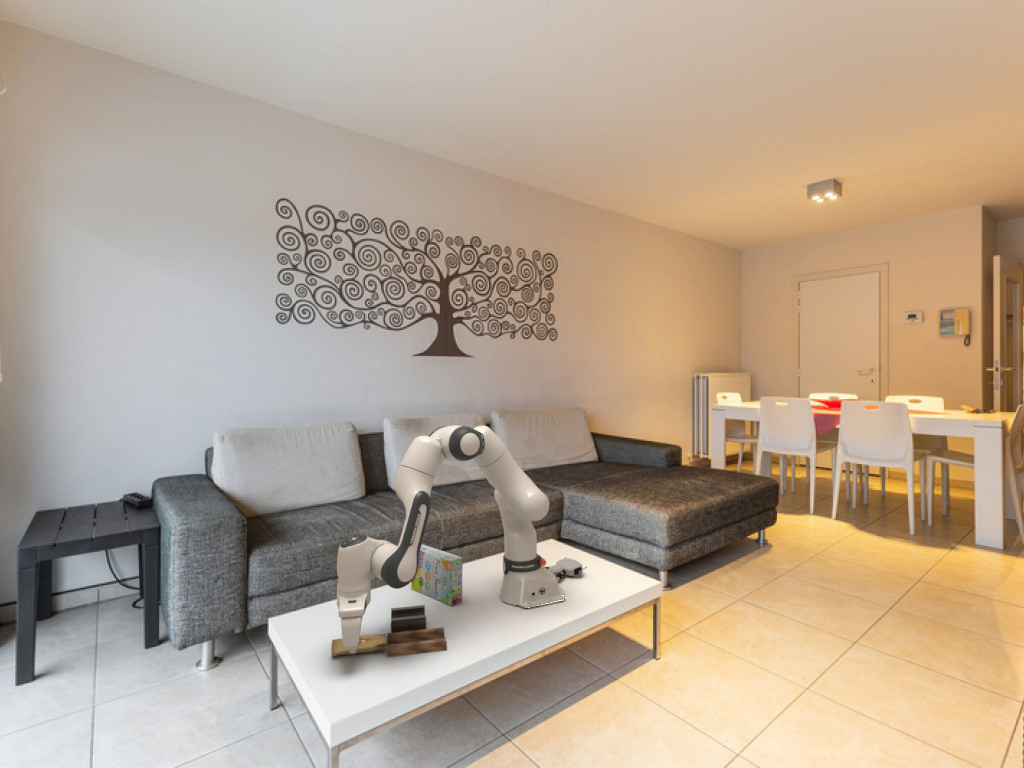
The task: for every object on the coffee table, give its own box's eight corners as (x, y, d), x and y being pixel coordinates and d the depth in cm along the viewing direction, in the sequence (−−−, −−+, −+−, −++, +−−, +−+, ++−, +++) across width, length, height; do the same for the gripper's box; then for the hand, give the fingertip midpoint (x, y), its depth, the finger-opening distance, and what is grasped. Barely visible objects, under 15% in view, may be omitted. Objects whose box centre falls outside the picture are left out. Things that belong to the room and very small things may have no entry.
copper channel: (443, 635, 148) (443, 627, 148) (446, 650, 140) (446, 641, 140) (387, 641, 144) (387, 633, 144) (387, 657, 136) (387, 648, 136)
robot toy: (557, 588, 183) (588, 576, 192) (557, 576, 183) (588, 564, 191) (537, 576, 194) (567, 565, 202) (536, 565, 193) (567, 554, 201)
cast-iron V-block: (424, 621, 156) (424, 605, 156) (426, 634, 149) (426, 617, 149) (391, 624, 154) (391, 608, 154) (391, 637, 146) (391, 620, 146)
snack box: (463, 601, 170) (463, 556, 170) (451, 607, 166) (451, 561, 166) (422, 584, 184) (422, 543, 184) (410, 589, 180) (410, 547, 180)
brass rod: (385, 645, 142) (385, 631, 142) (385, 653, 138) (385, 638, 138) (333, 651, 139) (333, 636, 139) (331, 659, 135) (331, 644, 135)
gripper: (345, 582, 147) (345, 629, 148) (337, 614, 127) (337, 669, 128) (367, 580, 149) (367, 627, 149) (363, 612, 129) (363, 666, 129)
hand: (353, 646), depth 138 cm, fingers closed on brass rod, 4 cm apart
